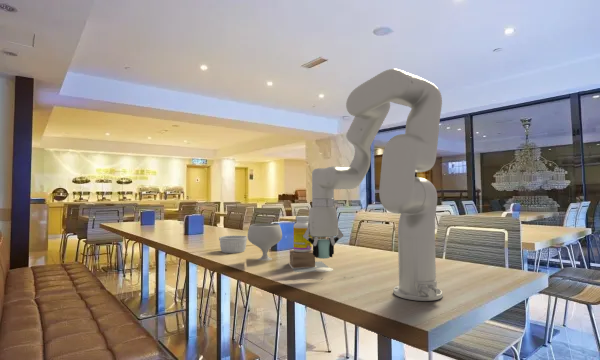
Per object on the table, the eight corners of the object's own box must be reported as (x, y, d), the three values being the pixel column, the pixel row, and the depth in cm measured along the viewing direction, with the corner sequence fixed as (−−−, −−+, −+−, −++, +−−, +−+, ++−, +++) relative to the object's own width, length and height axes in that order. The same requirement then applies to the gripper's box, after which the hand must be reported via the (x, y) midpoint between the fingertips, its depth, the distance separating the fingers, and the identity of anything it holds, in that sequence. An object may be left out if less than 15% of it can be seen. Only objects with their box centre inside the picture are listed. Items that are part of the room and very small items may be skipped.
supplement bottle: (308, 253, 124) (308, 217, 125) (291, 252, 126) (290, 216, 127) (313, 250, 131) (313, 215, 131) (297, 249, 133) (296, 215, 133)
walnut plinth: (315, 266, 125) (314, 252, 125) (293, 267, 124) (292, 253, 124) (310, 262, 133) (310, 249, 133) (289, 263, 132) (289, 250, 132)
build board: (335, 274, 118) (335, 271, 118) (295, 276, 116) (295, 273, 116) (323, 264, 135) (323, 261, 135) (288, 266, 133) (288, 262, 133)
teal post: (331, 258, 119) (331, 240, 120) (318, 258, 119) (318, 240, 119) (327, 255, 124) (327, 238, 124) (315, 256, 123) (315, 239, 123)
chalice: (281, 265, 134) (281, 226, 135) (245, 265, 134) (244, 226, 135) (283, 258, 148) (282, 223, 149) (250, 258, 148) (250, 223, 149)
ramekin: (238, 248, 178) (238, 234, 178) (252, 251, 168) (252, 236, 168) (214, 251, 169) (214, 236, 169) (227, 254, 159) (227, 239, 159)
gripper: (343, 203, 127) (343, 254, 126) (297, 203, 124) (297, 255, 123) (349, 204, 119) (350, 258, 119) (301, 204, 116) (301, 259, 116)
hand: (323, 256), depth 121 cm, fingers closed on teal post, 4 cm apart
